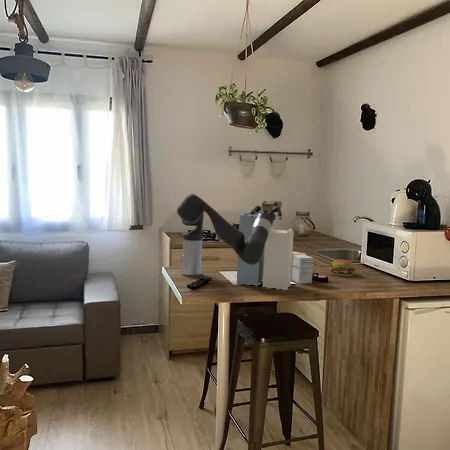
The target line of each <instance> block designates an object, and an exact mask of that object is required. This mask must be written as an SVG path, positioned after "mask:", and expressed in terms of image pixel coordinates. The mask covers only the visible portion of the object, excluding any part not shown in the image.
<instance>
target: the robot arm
mask: <svg viewBox="0 0 450 450" xmlns="http://www.w3.org/2000/svg"><path fill="white" fill-rule="evenodd" d="M266 202H267V200H264V201H262V203H266ZM277 207H278V203H277V202H275V203H274V206H273V208H272V210H269V211H264V210H262V204H260V205H256V206H255V207H254V208H253V209H252V210H250V211H251V217H252V218H253V217H256V218H255V221H254V223H253V226H252V230H251V232H250V235H249V238H248V240H247V242H246V243H245V236H244V234H243V233H242V232H241V231H239V229H238V228H237V227H235V226H234V225H232V224H231V223H230V222H228V220H226V219H225V218H224V217H223V216H222V215H221V214H220V213H218V212H217V210H216V209H214V208H213V207H212V206H210V204H208V203H207V202H206V201H205V200H204V199H202V198H201V197H199V195H197V194H195V193H192V192H190V193H188V194H187V195H186V197H185V198H184V199H183V201H182V202H181V203H180V204H179V205H178V207H177V209H176V212H177V215H178V216H179V218H180V219H181V222H182V224H183V225H184V226H191V227H195V228H194V229H193V230H191V231H188V232H185V233H183V244H182V256H181V257H182V258H181V275H185V276H199V275H201V274H202V272H201V271H202V252H203V251H202V250H203V228H204V217H205V216H204V212H205V213H206V214H207V215H208V217H209V220H210V221H211V224H212V226H213V230H214V232H215V234H216V235H217V237H218V238H219V239H220V240H221V241H223V242H224V243H225V244H227V245H228V246H229V247H230V248H232V249H233V251H234V252H235V253H236V255H237V257H238V256H239V257H240V258H241V259H242V260H243V261H244V262H245V263H247V264H250V265H254V264H257V263H258V262H259V260H260V257H261V255H262V252H263V250H264V247H265V242H266V240H267V237H268V235H269V233H270V231H271V228H272V227H273V224H274V221H276V219H278V220H283V214H282V210H281V208H280V207H278V208H277ZM276 213H277V214H276Z"/></svg>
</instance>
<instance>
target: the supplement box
mask: <svg viewBox="0 0 450 450" xmlns="http://www.w3.org/2000/svg"><path fill="white" fill-rule="evenodd" d="M313 267H314V257H312V256H309V255H307V254H306V255H293V267H292V277H291V281H293V282H295V283H297V284H300V285H301V284H312V281H313V269H314V268H313Z"/></svg>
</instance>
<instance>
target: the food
mask: <svg viewBox="0 0 450 450" xmlns="http://www.w3.org/2000/svg"><path fill="white" fill-rule="evenodd" d="M357 269H358V267H356V266H355V265H354V263H353V262H352V261H350V260H347V259H341V258H339V259H336V260H333V261H332V263H330V264H329V272H330V273H331V274H332V275H333V276H337V277H343V278H344V277H345V278H346V277H347V278H348V277H353V276H354V273H355V272H356V270H357Z"/></svg>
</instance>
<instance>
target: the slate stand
mask: <svg viewBox="0 0 450 450" xmlns="http://www.w3.org/2000/svg"><path fill="white" fill-rule="evenodd" d="M251 211H252V210H249V211H246V212H244V213H242V214H240V215H239V223H238V224H239V225H238V226H239V227H238V228H239V229H238V230H239V231H241V232H242V233H243V234H244V236H245V243H246V242H247V240H248V238H249V235H250V232H251V230H252V226H253V223H254V221H255V218H256V217H253V218H252V217H251ZM264 254H265V247H264V250H263V252H262V255H261V257H260V260H259V262H258V263H257V264H254V265H250V264H247V263H245V262H244V261H243V260H242V259H241V258H240V257H239V256H238V255H237V266H236V267H237V268H236V285H240V284H247V285H246V286H249V285H255V286H254V287H259V286H258V284H259V283H260V282H261V281H262V280H263V272H264ZM262 282H263V281H262ZM262 282H261V283H262ZM261 283H260V284H261Z"/></svg>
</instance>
